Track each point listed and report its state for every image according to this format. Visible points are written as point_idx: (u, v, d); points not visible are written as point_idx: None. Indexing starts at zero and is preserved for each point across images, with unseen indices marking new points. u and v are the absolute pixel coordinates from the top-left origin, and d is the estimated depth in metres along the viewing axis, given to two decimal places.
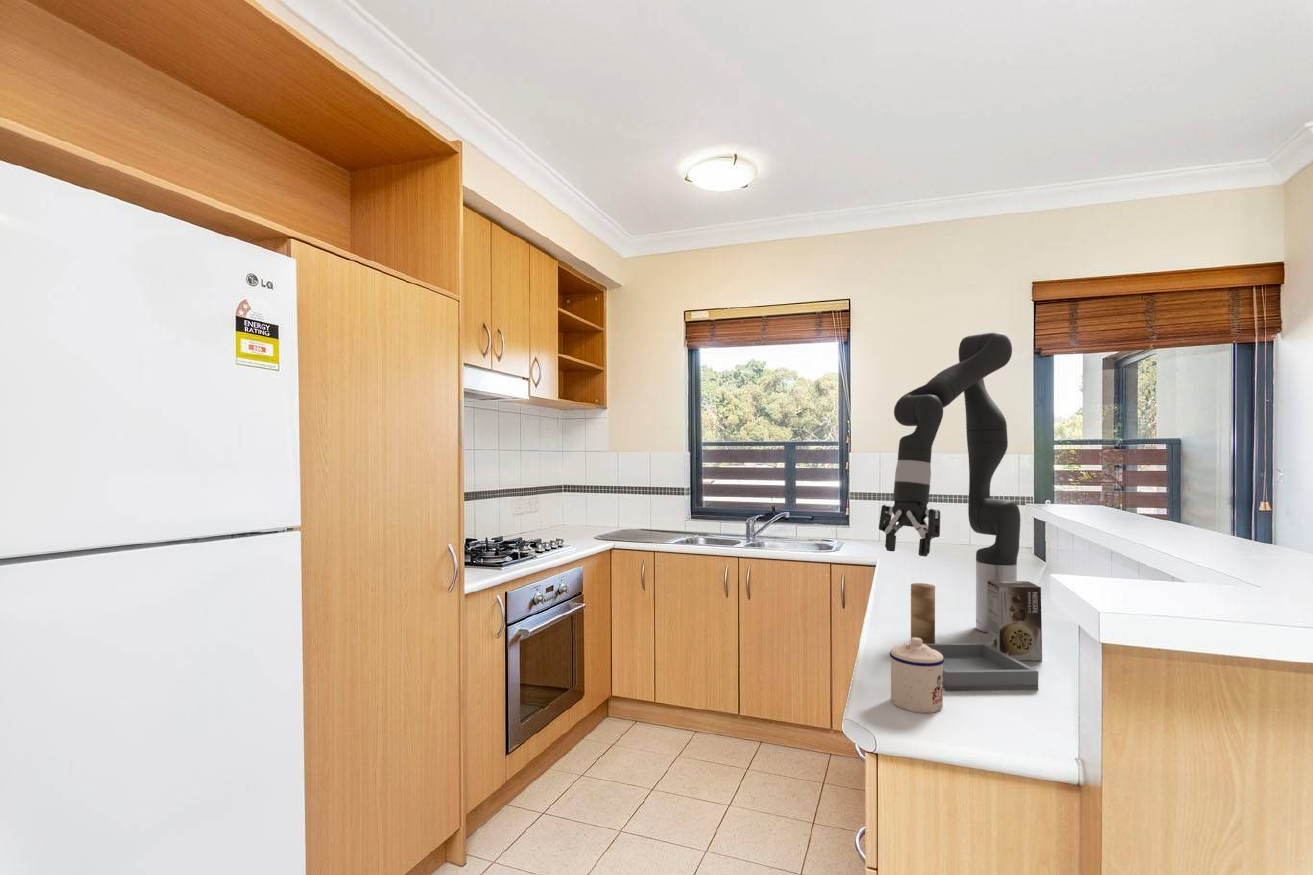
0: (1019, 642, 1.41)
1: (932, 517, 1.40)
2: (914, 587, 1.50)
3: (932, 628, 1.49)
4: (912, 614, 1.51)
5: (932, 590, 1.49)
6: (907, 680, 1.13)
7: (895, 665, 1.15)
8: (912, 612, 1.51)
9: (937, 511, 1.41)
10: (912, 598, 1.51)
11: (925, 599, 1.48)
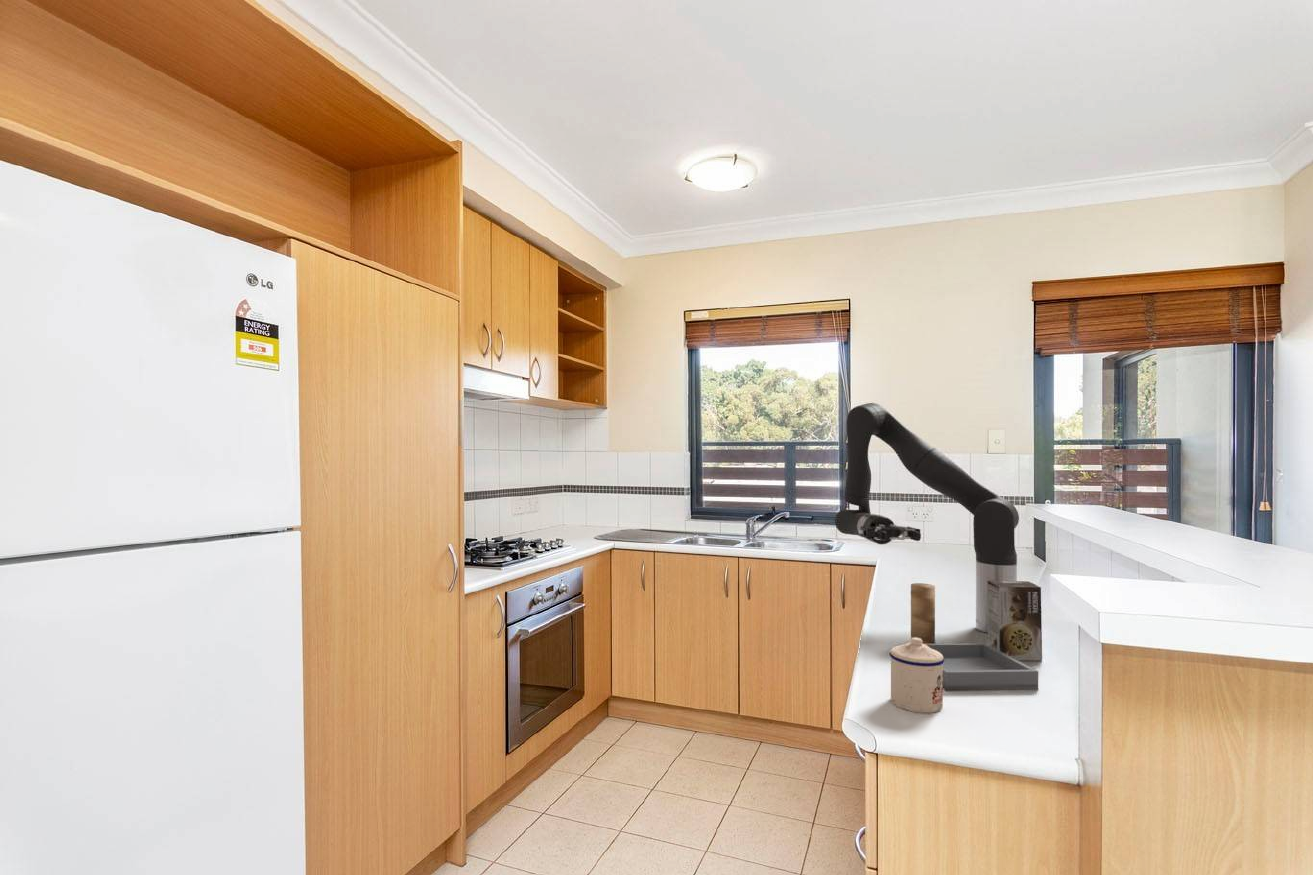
0: (1019, 642, 1.41)
1: None
2: (914, 587, 1.50)
3: (932, 628, 1.49)
4: (912, 614, 1.51)
5: (932, 590, 1.49)
6: (907, 680, 1.13)
7: (895, 665, 1.15)
8: (912, 612, 1.51)
9: (860, 530, 1.72)
10: (912, 598, 1.51)
11: (925, 599, 1.48)
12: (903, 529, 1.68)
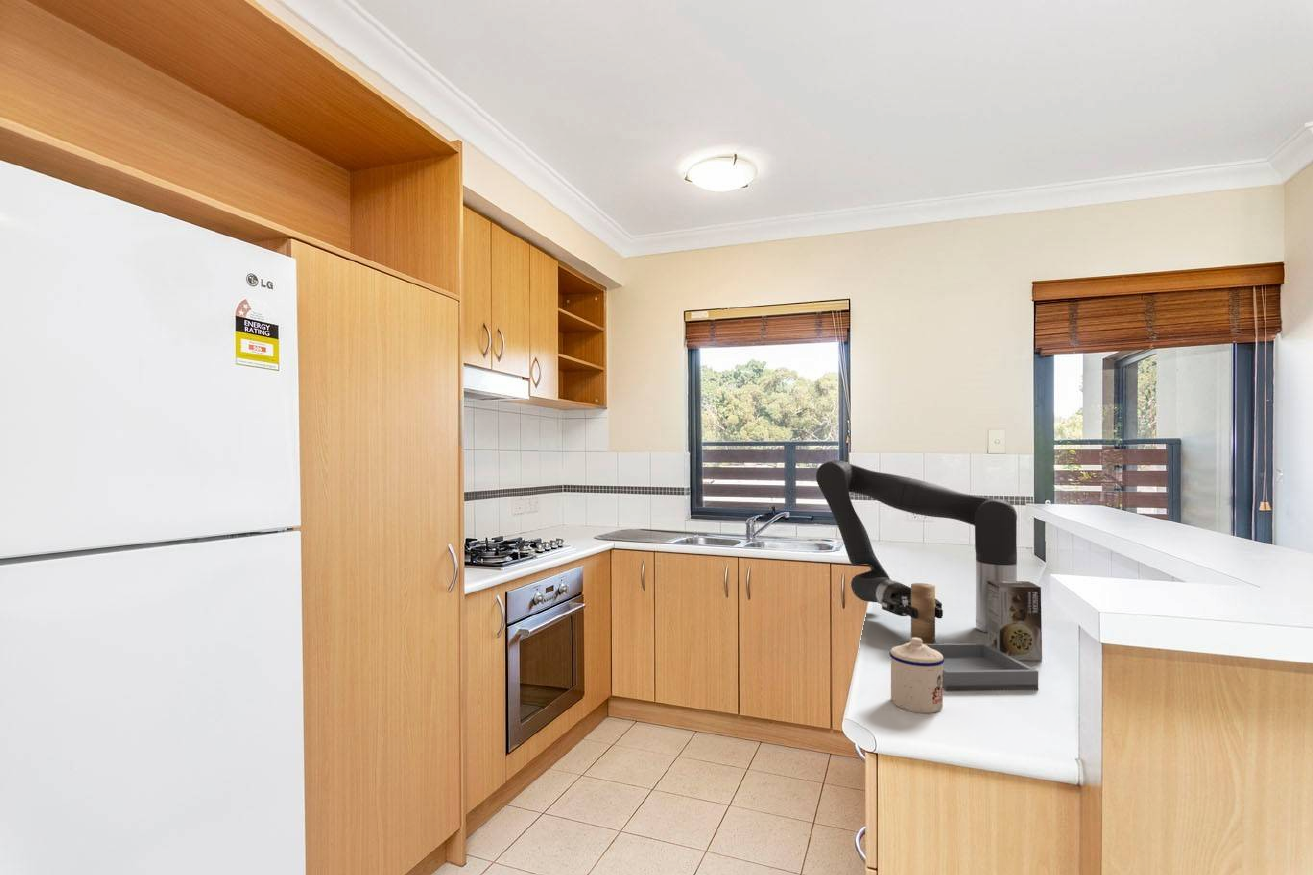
0: (1019, 642, 1.41)
1: (886, 610, 1.56)
2: (914, 587, 1.50)
3: (932, 628, 1.49)
4: None
5: (932, 589, 1.49)
6: (907, 680, 1.13)
7: (895, 665, 1.15)
8: None
9: (882, 602, 1.58)
10: (912, 598, 1.51)
11: (925, 599, 1.48)
12: None
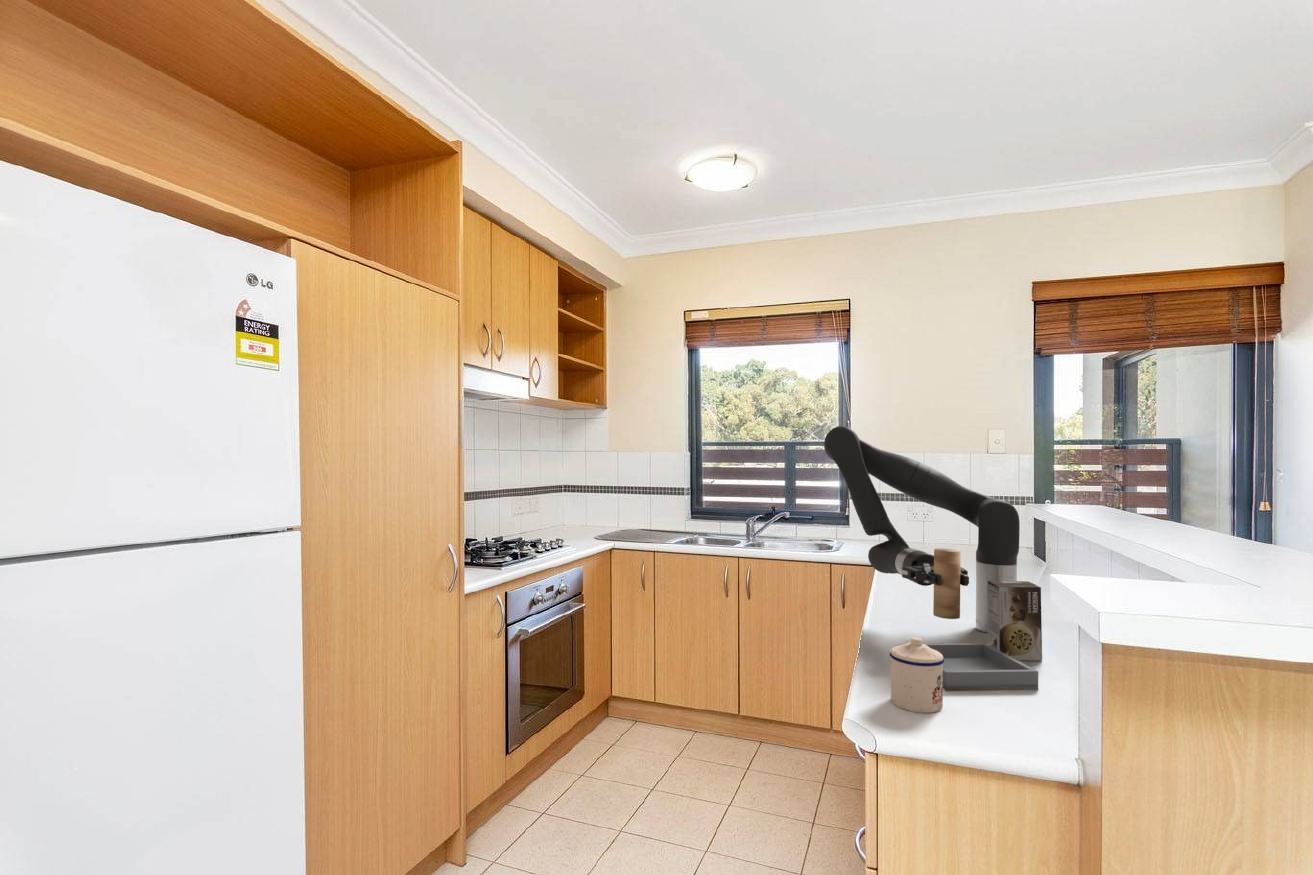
0: (1019, 642, 1.41)
1: None
2: (938, 552, 1.38)
3: (957, 596, 1.37)
4: None
5: (958, 554, 1.37)
6: (907, 680, 1.13)
7: (895, 665, 1.15)
8: None
9: (902, 570, 1.46)
10: (935, 564, 1.39)
11: (950, 565, 1.36)
12: None
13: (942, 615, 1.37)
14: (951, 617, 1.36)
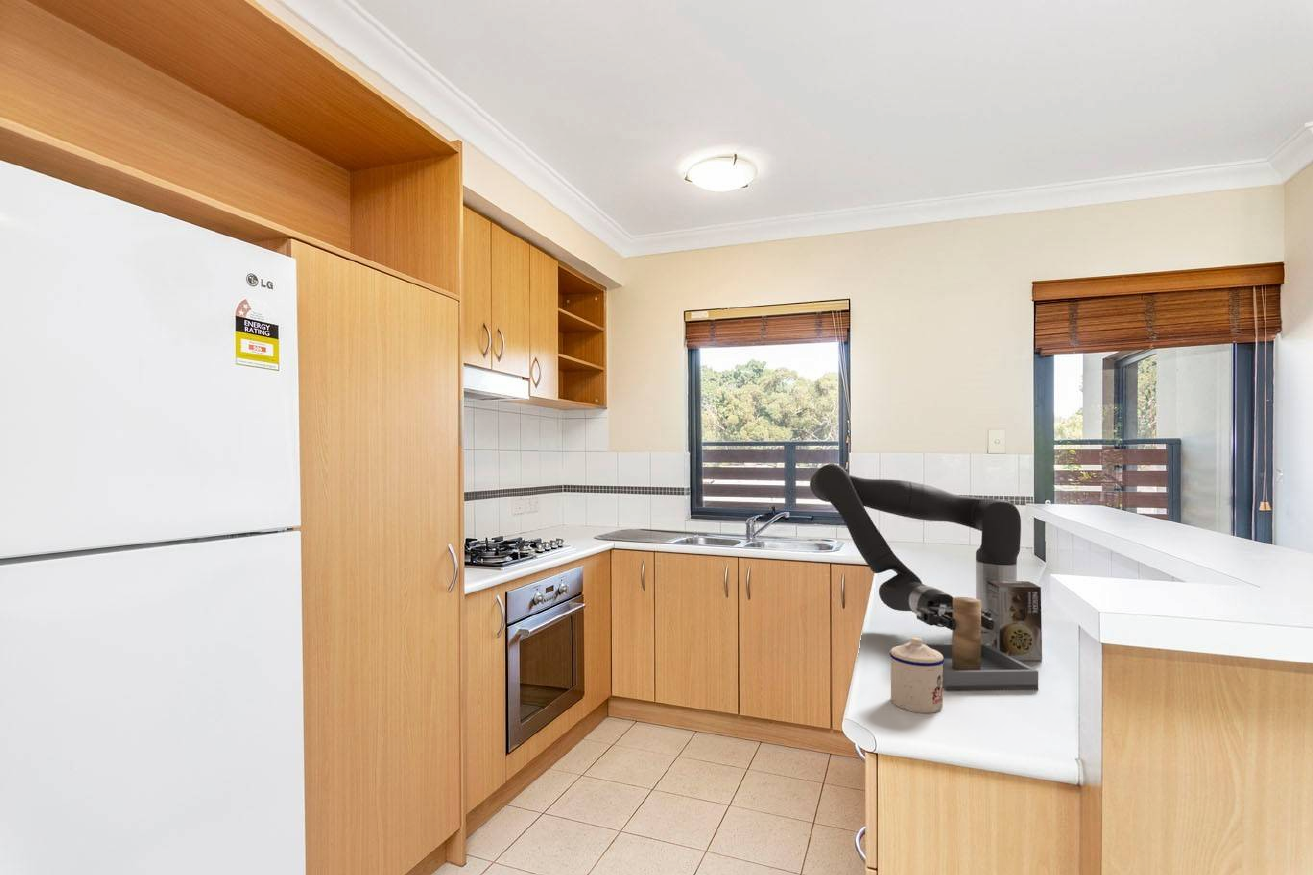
0: (1019, 642, 1.41)
1: (920, 619, 1.38)
2: (957, 602, 1.31)
3: (978, 649, 1.30)
4: (954, 632, 1.32)
5: (978, 605, 1.30)
6: (907, 680, 1.13)
7: (895, 665, 1.15)
8: (954, 630, 1.32)
9: (916, 611, 1.39)
10: (955, 614, 1.32)
11: (970, 616, 1.29)
12: None
13: (962, 669, 1.30)
14: None
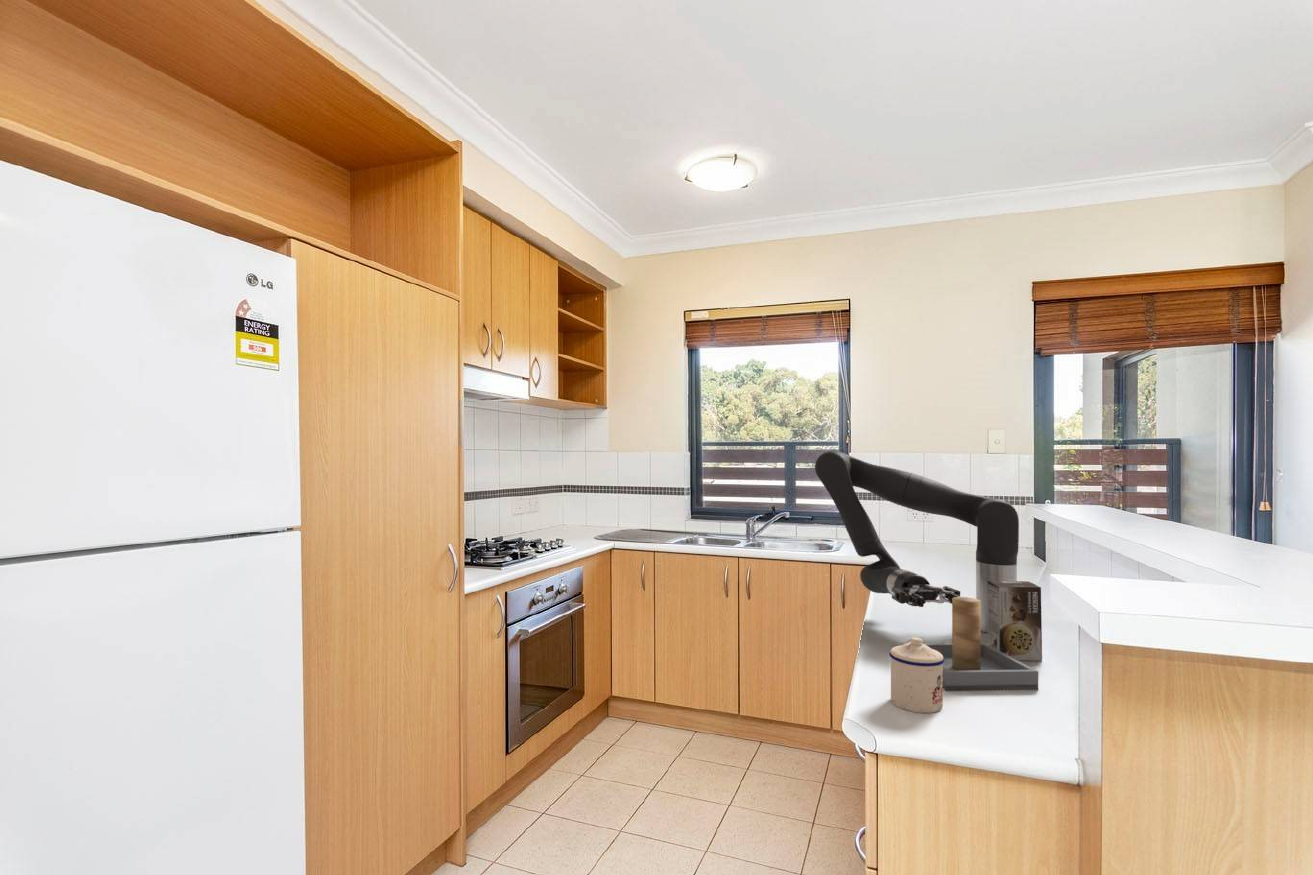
0: (1019, 642, 1.41)
1: None
2: (957, 602, 1.31)
3: (978, 649, 1.30)
4: (954, 633, 1.32)
5: (978, 605, 1.30)
6: (907, 680, 1.13)
7: (895, 665, 1.15)
8: (954, 630, 1.32)
9: (891, 591, 1.53)
10: (954, 614, 1.32)
11: (970, 616, 1.30)
12: (941, 591, 1.49)
13: (962, 669, 1.30)
14: None
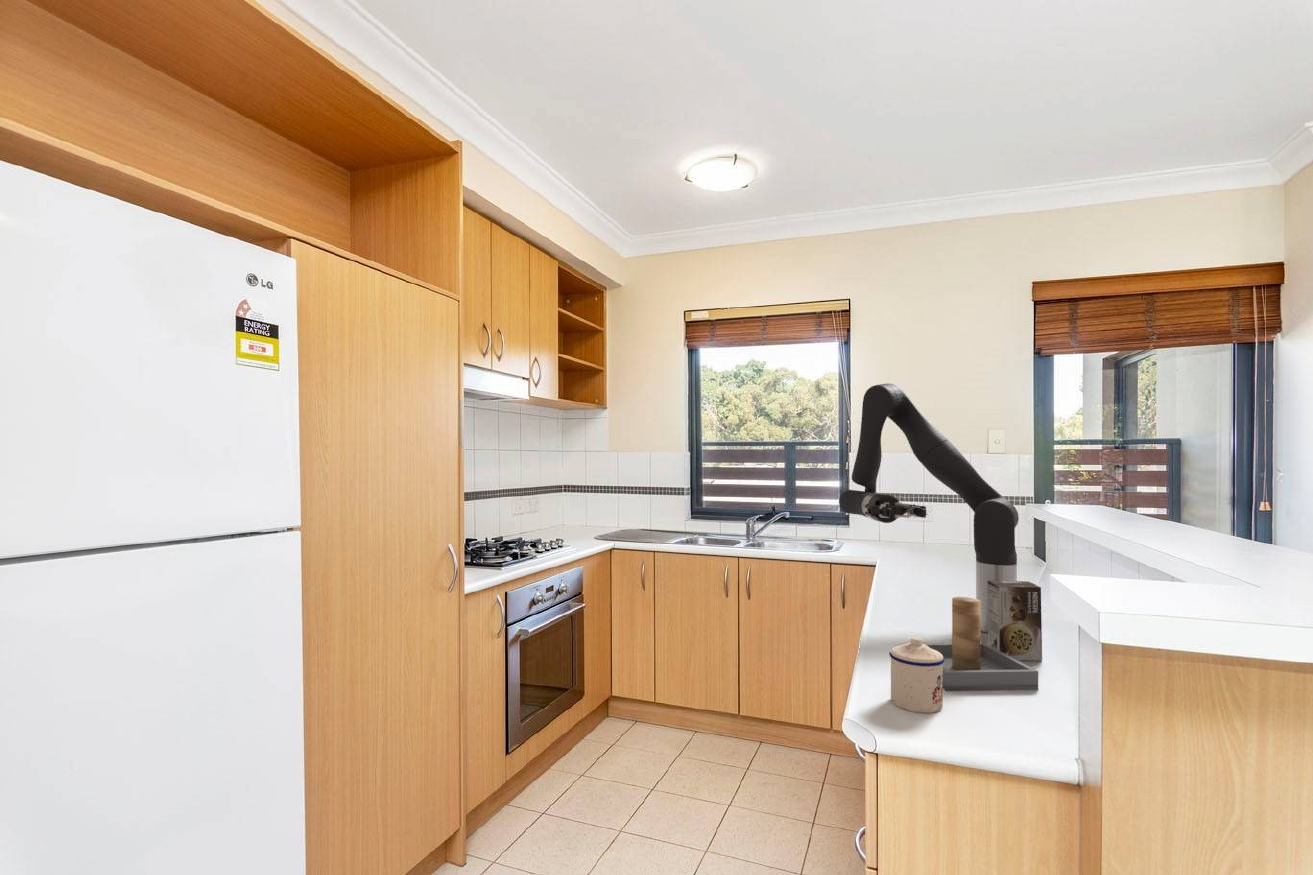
0: (1019, 642, 1.41)
1: None
2: (957, 602, 1.31)
3: (978, 649, 1.30)
4: (954, 633, 1.32)
5: (978, 605, 1.30)
6: (907, 680, 1.13)
7: (895, 665, 1.15)
8: (954, 630, 1.32)
9: (864, 508, 1.69)
10: (954, 614, 1.32)
11: (970, 616, 1.30)
12: (908, 506, 1.65)
13: (962, 669, 1.30)
14: None
